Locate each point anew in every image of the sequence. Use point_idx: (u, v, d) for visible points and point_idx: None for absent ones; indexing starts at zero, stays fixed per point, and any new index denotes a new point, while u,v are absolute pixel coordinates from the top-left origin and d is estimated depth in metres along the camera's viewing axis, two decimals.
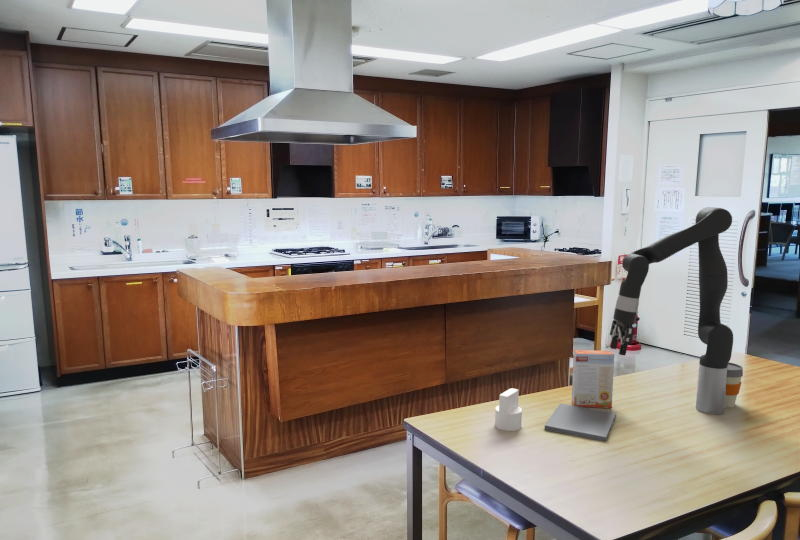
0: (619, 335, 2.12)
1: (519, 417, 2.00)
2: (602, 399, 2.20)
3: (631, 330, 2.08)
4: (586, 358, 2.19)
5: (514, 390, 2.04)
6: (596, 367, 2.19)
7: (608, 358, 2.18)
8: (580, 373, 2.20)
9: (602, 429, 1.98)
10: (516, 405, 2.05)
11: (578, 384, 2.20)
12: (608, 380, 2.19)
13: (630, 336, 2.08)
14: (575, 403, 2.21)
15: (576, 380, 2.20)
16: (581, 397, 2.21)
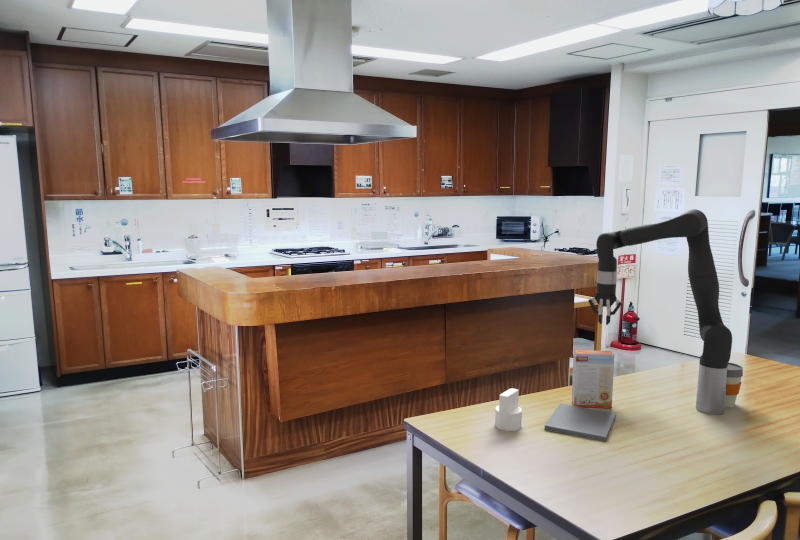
0: None
1: (519, 417, 2.00)
2: (602, 399, 2.20)
3: None
4: (586, 358, 2.19)
5: (514, 390, 2.04)
6: (596, 367, 2.19)
7: (608, 358, 2.18)
8: (580, 373, 2.20)
9: (602, 429, 1.98)
10: (516, 405, 2.05)
11: (578, 384, 2.20)
12: (608, 380, 2.19)
13: None
14: (575, 403, 2.21)
15: (576, 380, 2.20)
16: (581, 397, 2.21)
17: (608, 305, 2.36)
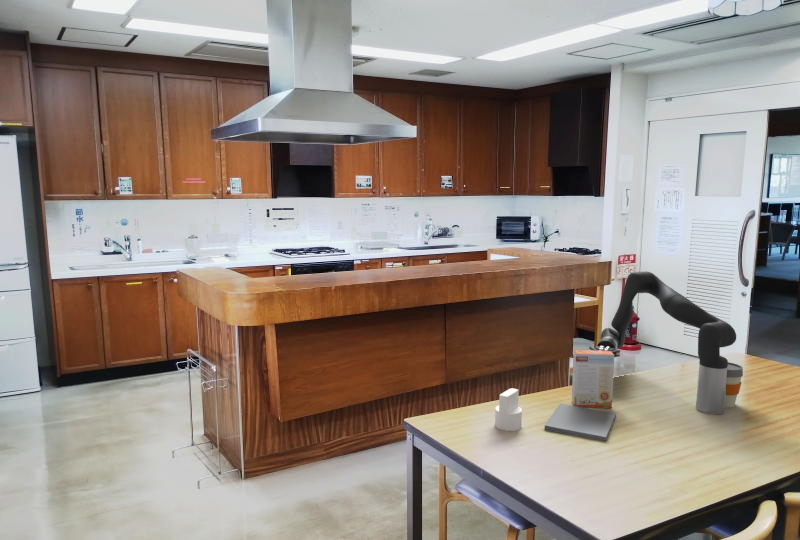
0: None
1: (519, 417, 2.00)
2: (602, 399, 2.20)
3: (589, 348, 2.49)
4: (586, 358, 2.19)
5: (514, 390, 2.04)
6: (596, 367, 2.19)
7: (608, 358, 2.18)
8: (580, 373, 2.20)
9: (602, 429, 1.98)
10: (516, 405, 2.05)
11: (578, 384, 2.20)
12: (608, 380, 2.19)
13: None
14: (575, 403, 2.21)
15: (576, 380, 2.20)
16: (581, 397, 2.21)
17: (607, 348, 2.45)
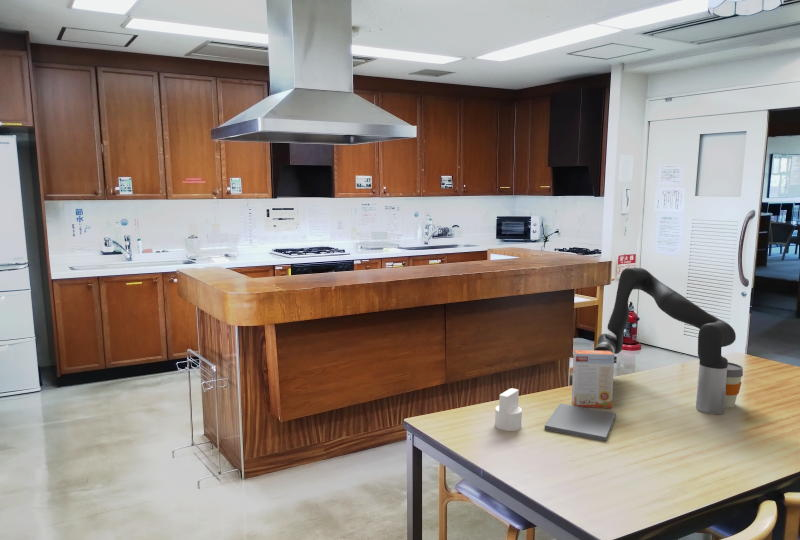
0: None
1: (519, 417, 2.00)
2: (602, 399, 2.20)
3: None
4: (586, 358, 2.19)
5: (514, 390, 2.04)
6: (596, 367, 2.19)
7: (608, 358, 2.18)
8: (580, 373, 2.20)
9: (602, 429, 1.98)
10: (516, 405, 2.05)
11: (578, 384, 2.20)
12: (608, 380, 2.19)
13: None
14: (575, 403, 2.21)
15: (576, 380, 2.20)
16: (581, 397, 2.21)
17: None
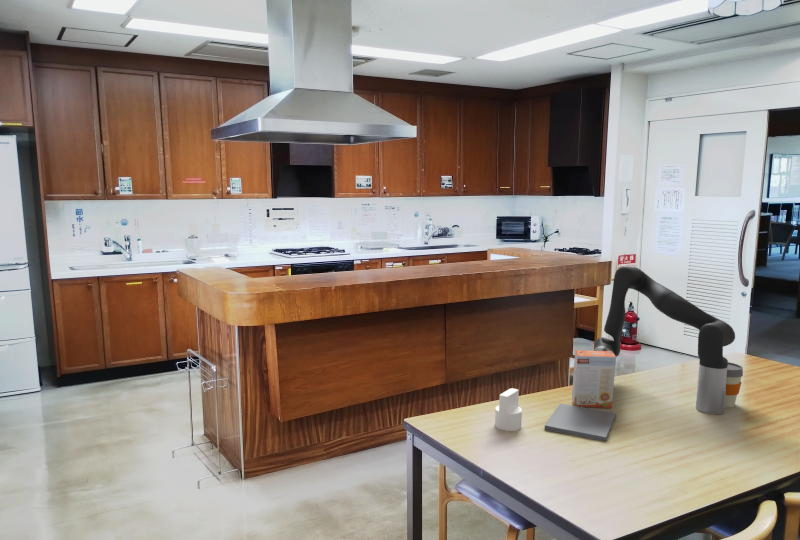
0: None
1: (519, 417, 2.00)
2: (602, 399, 2.20)
3: None
4: (587, 360, 2.16)
5: (514, 390, 2.04)
6: (597, 369, 2.17)
7: (610, 360, 2.16)
8: (581, 375, 2.18)
9: (602, 429, 1.98)
10: (516, 405, 2.05)
11: (579, 385, 2.19)
12: (609, 381, 2.18)
13: None
14: (575, 403, 2.21)
15: (577, 381, 2.19)
16: (581, 397, 2.20)
17: None
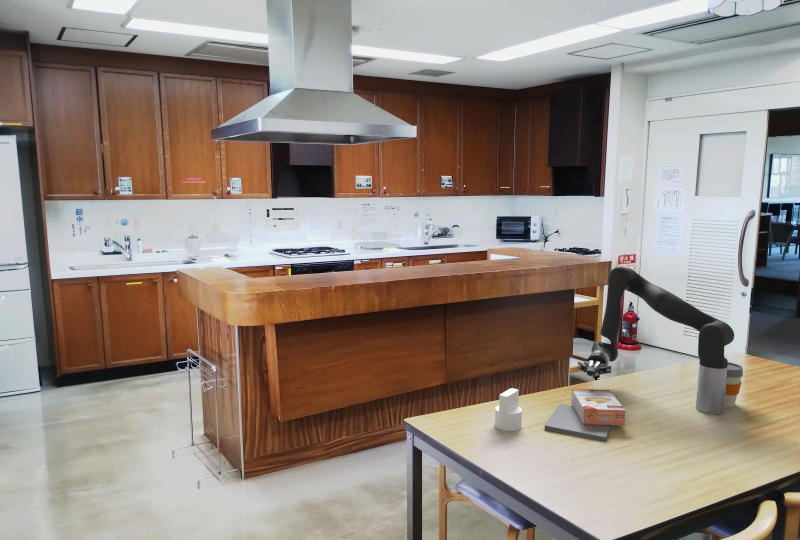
0: None
1: (519, 417, 2.00)
2: None
3: (578, 364, 2.27)
4: None
5: (514, 390, 2.04)
6: None
7: None
8: None
9: (602, 429, 1.98)
10: (516, 405, 2.05)
11: None
12: None
13: (580, 365, 2.25)
14: None
15: None
16: None
17: (597, 363, 2.23)
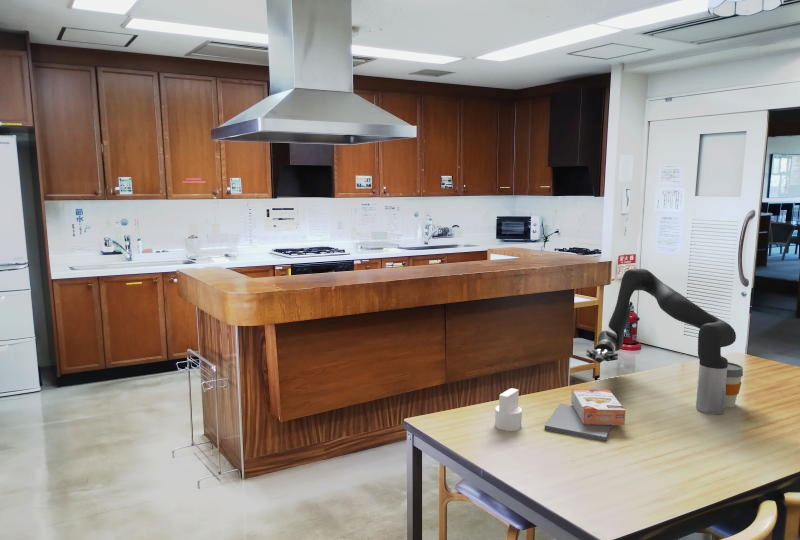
0: None
1: (519, 417, 2.00)
2: None
3: None
4: None
5: (514, 390, 2.04)
6: None
7: None
8: None
9: (602, 429, 1.98)
10: (516, 405, 2.05)
11: None
12: None
13: (589, 353, 2.42)
14: None
15: None
16: None
17: (605, 351, 2.40)
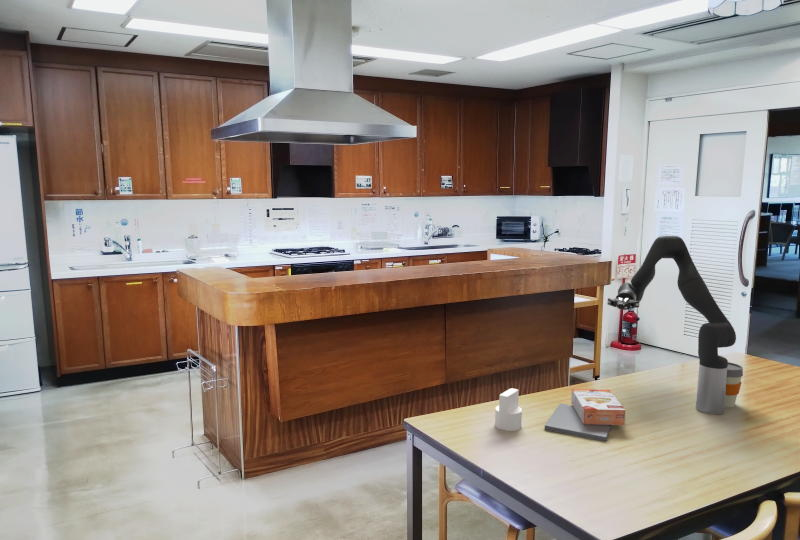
0: None
1: (519, 417, 2.00)
2: None
3: (608, 300, 2.45)
4: None
5: (514, 390, 2.04)
6: None
7: None
8: None
9: (602, 429, 1.98)
10: (516, 405, 2.05)
11: None
12: None
13: (610, 301, 2.43)
14: None
15: None
16: None
17: (626, 299, 2.41)
